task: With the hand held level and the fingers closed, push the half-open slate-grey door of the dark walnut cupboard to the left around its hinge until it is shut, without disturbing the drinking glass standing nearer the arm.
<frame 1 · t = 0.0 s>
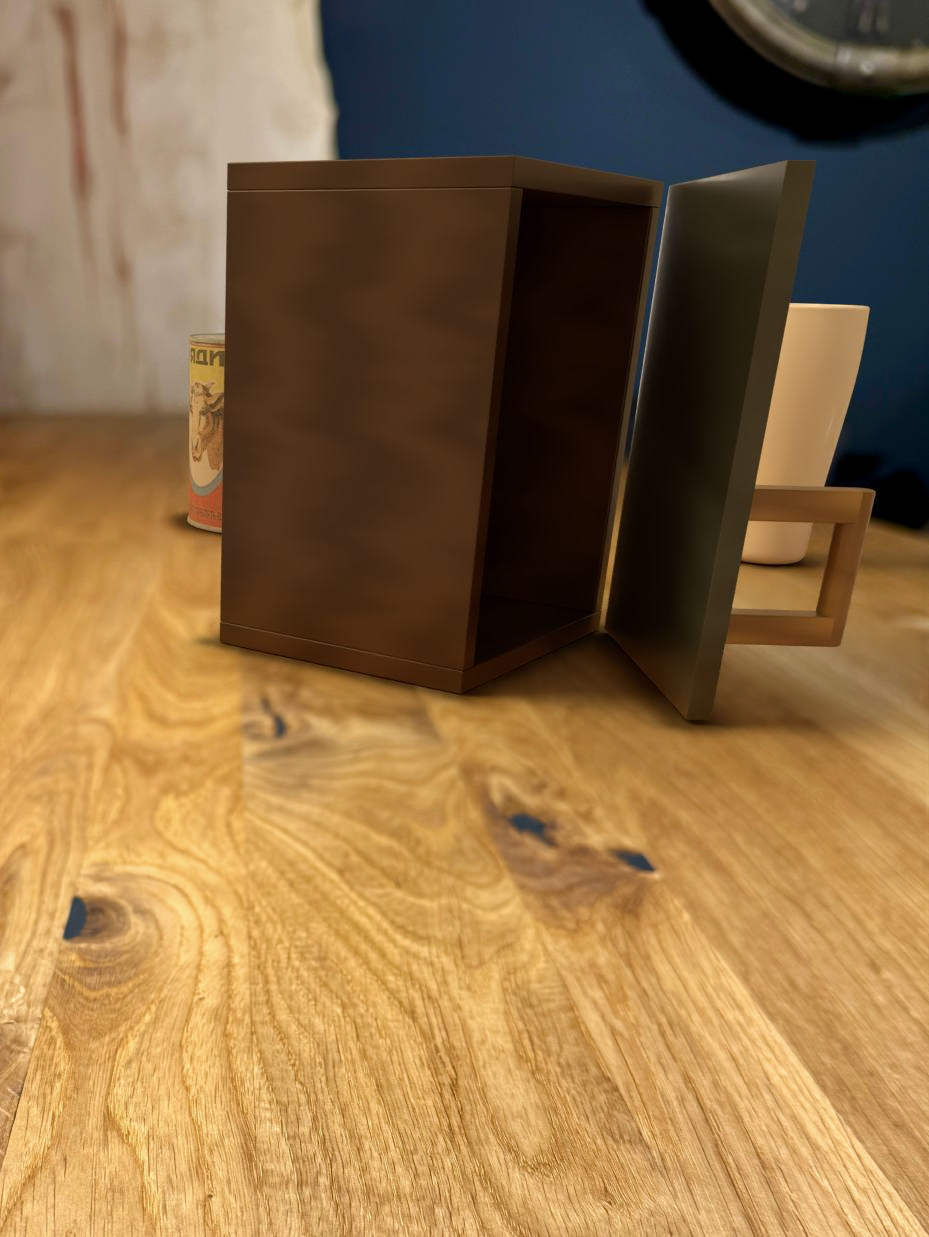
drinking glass: (760, 561, 85), on the table
canned food: (266, 525, 93), on the table
cupboard door: (749, 443, 55), point 10 cm above the table, hinge at 35.0°
cupboard: (415, 635, 65), on the table
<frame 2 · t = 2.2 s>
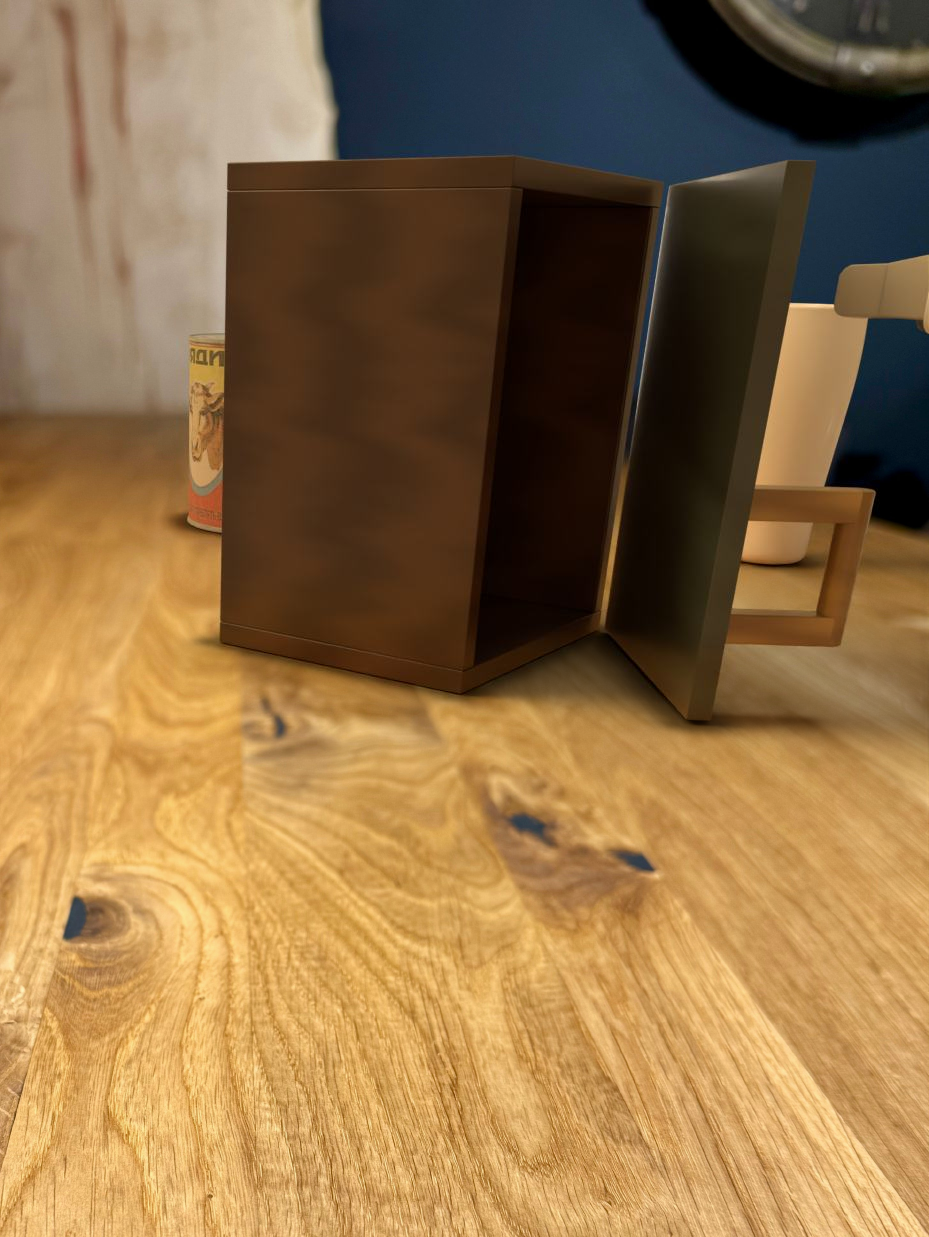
hand: (885, 301, 54), 16 cm above the table, tool horizontal, fingers open, 8 cm apart
nothing on the table moved.
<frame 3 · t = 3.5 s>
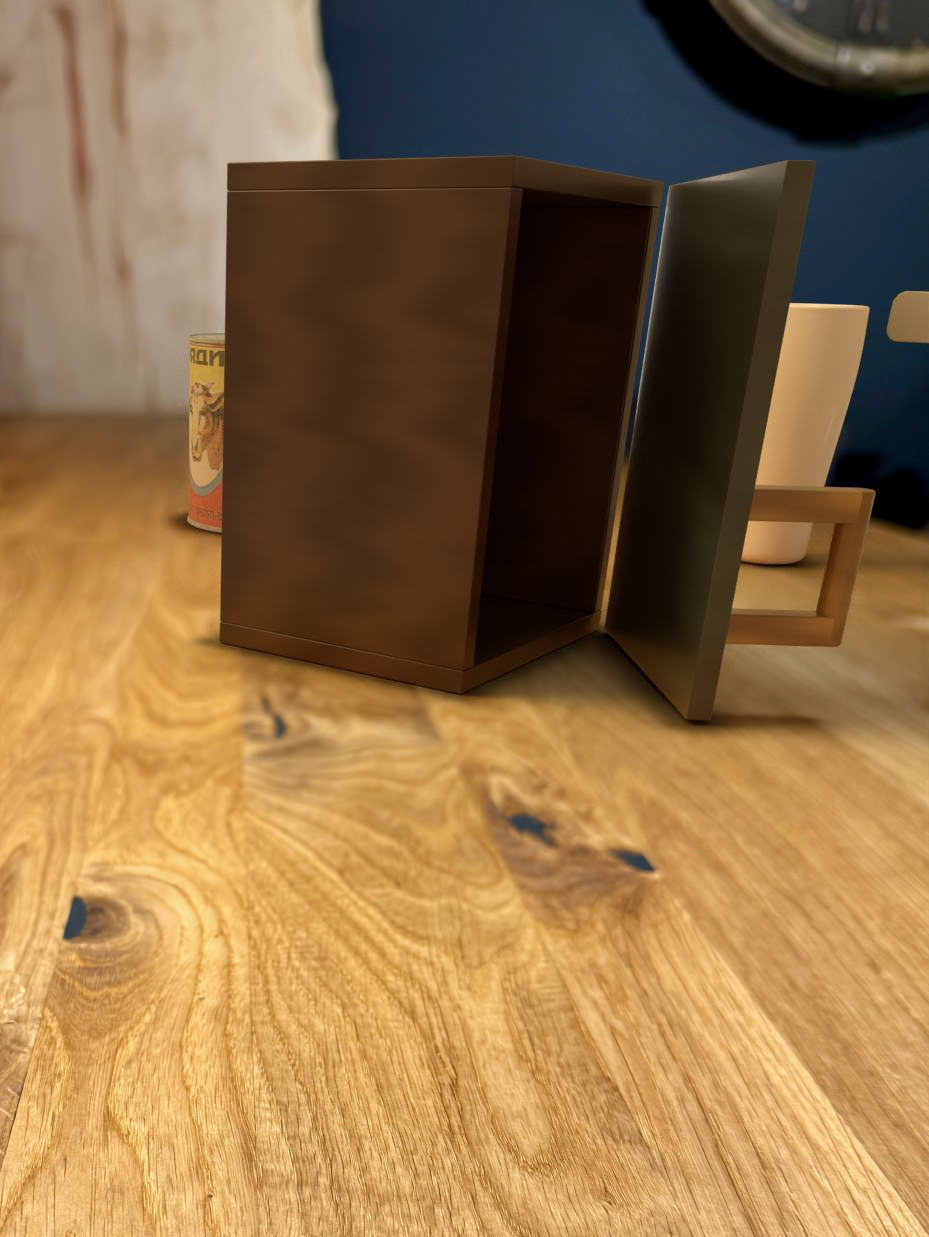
hand: (897, 315, 53), 15 cm above the table, tool horizontal, fingers closed
nothing on the table moved.
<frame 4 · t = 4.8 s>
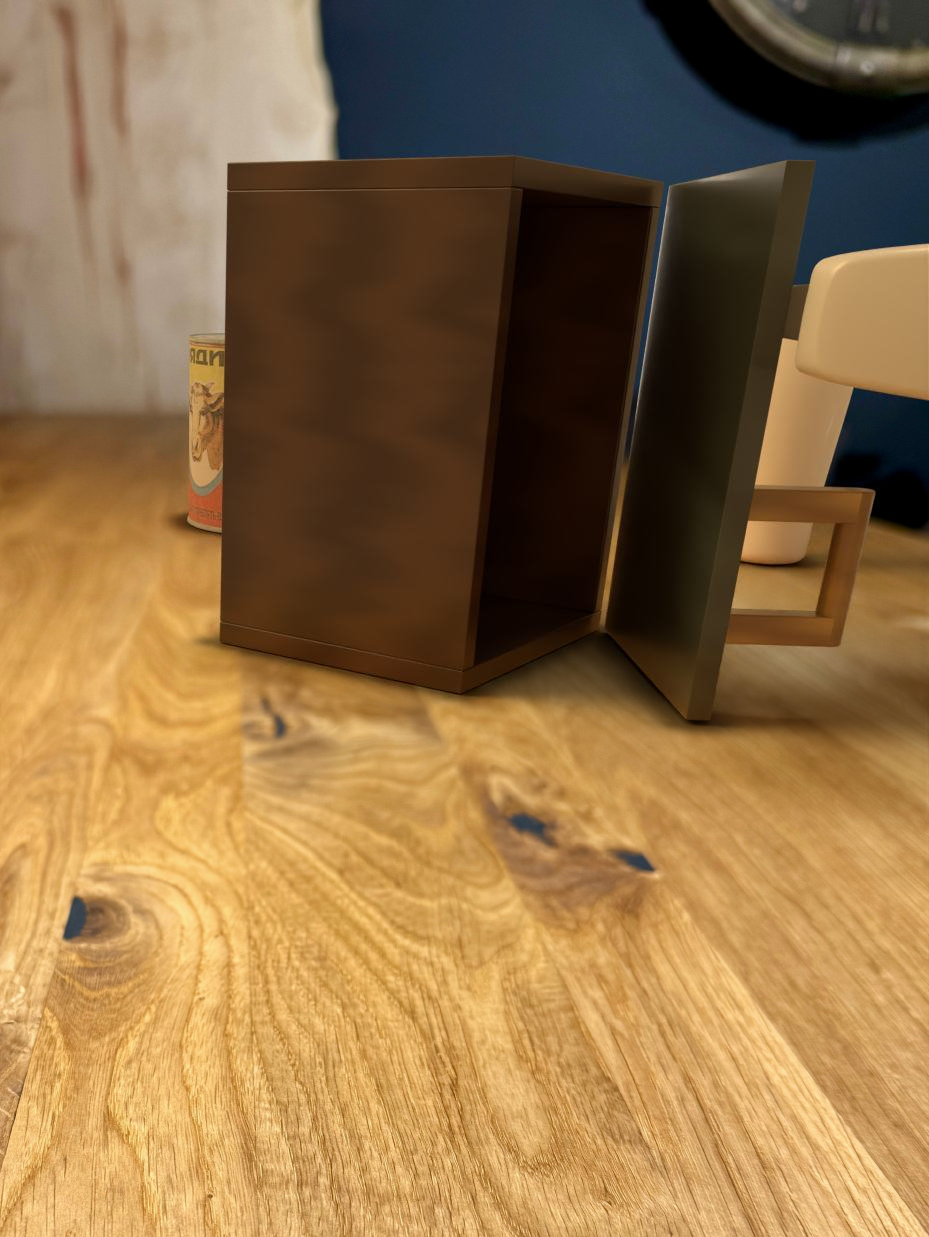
hand: (747, 309, 52), 15 cm above the table, tool horizontal, fingers closed
cupboard door: (749, 443, 55), point 10 cm above the table, hinge at 34.9°, touching gripper
everything else where it was.
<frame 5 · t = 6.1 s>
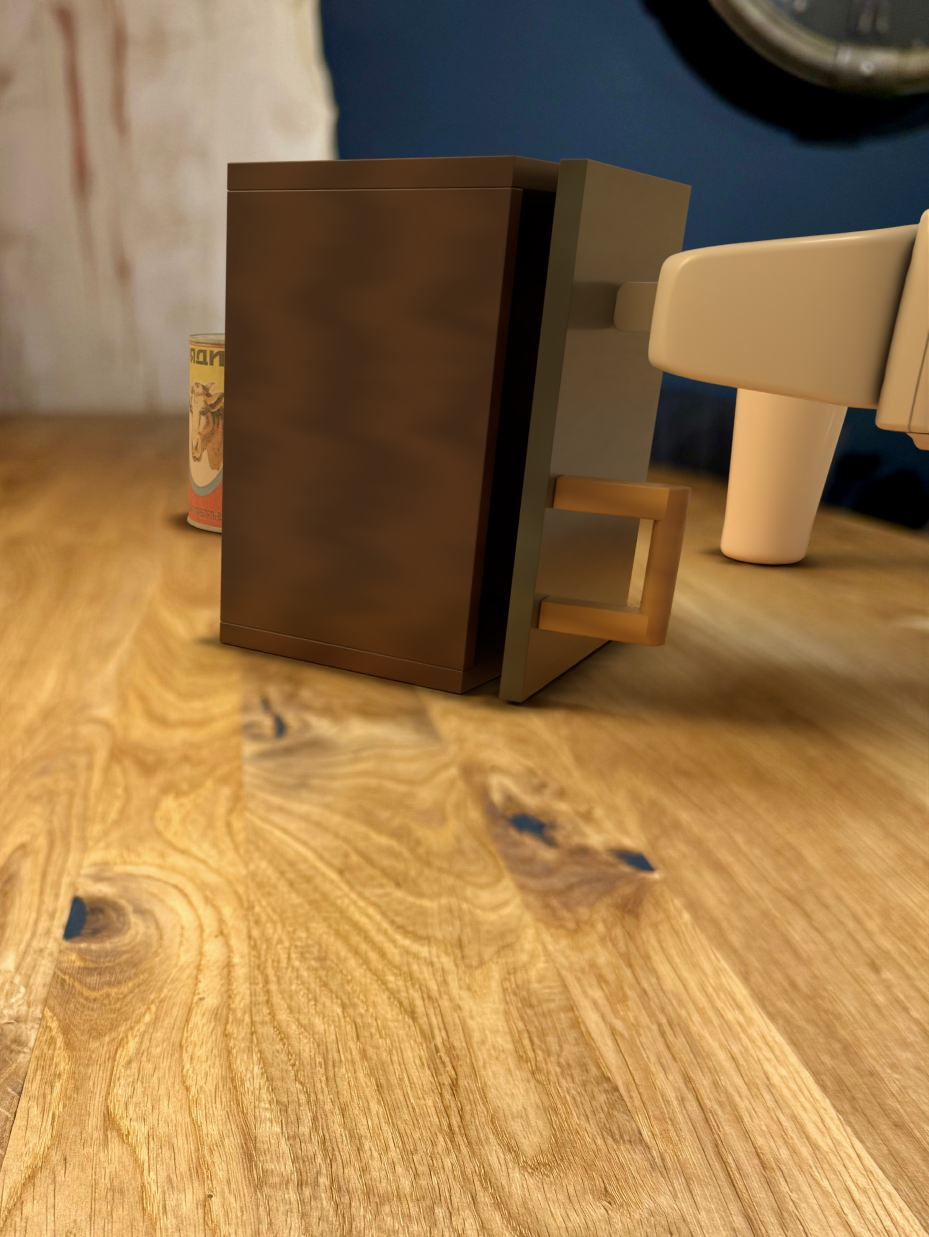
hand: (625, 305, 53), 15 cm above the table, tool horizontal, fingers closed, pressing on cupboard door
cupboard door: (656, 441, 55), point 10 cm above the table, hinge at 5.7°, touching gripper
everything else where it was.
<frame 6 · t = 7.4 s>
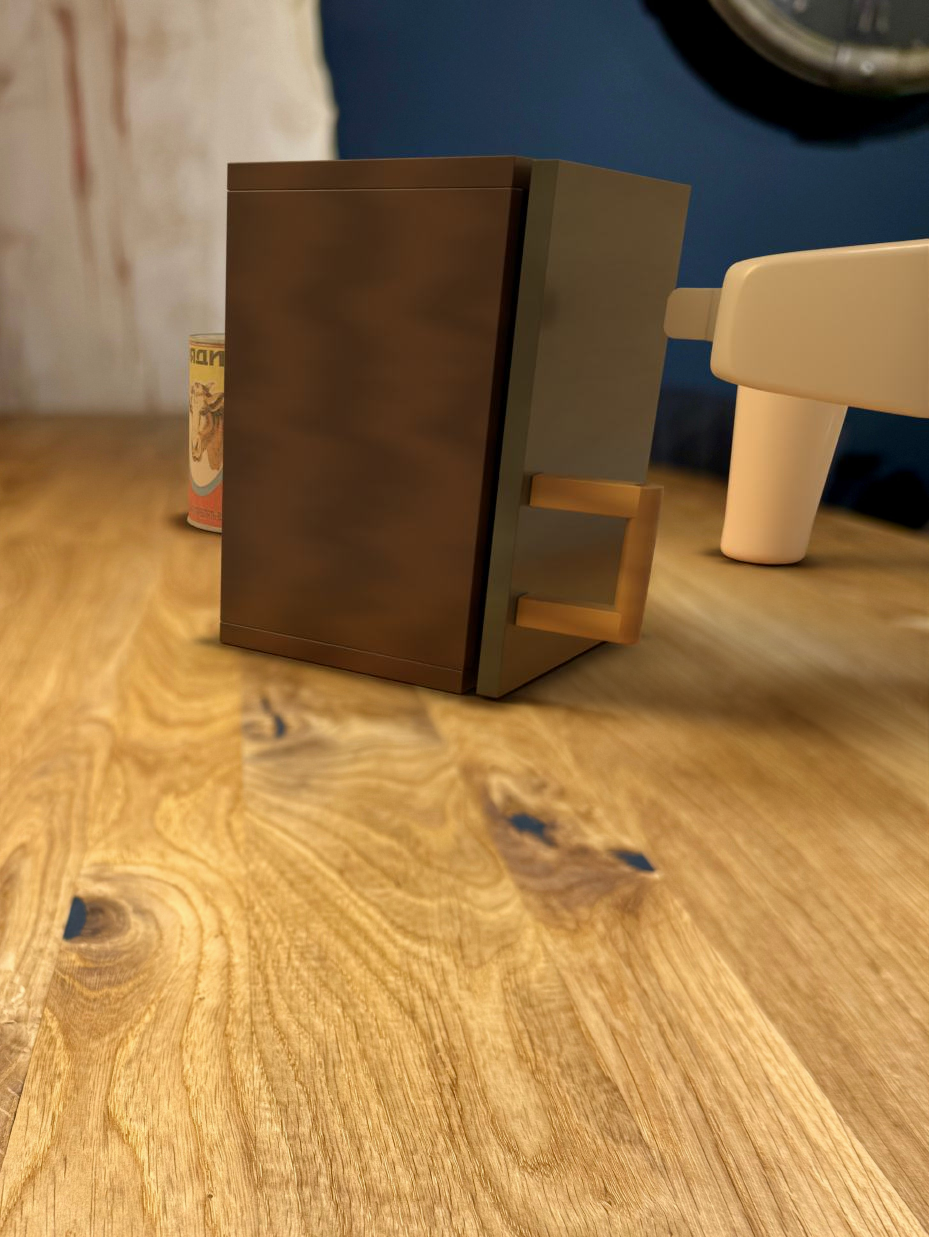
hand: (677, 312, 52), 15 cm above the table, tool horizontal, fingers closed
cupboard door: (643, 440, 55), point 10 cm above the table, hinge at 1.7°
everything else where it was.
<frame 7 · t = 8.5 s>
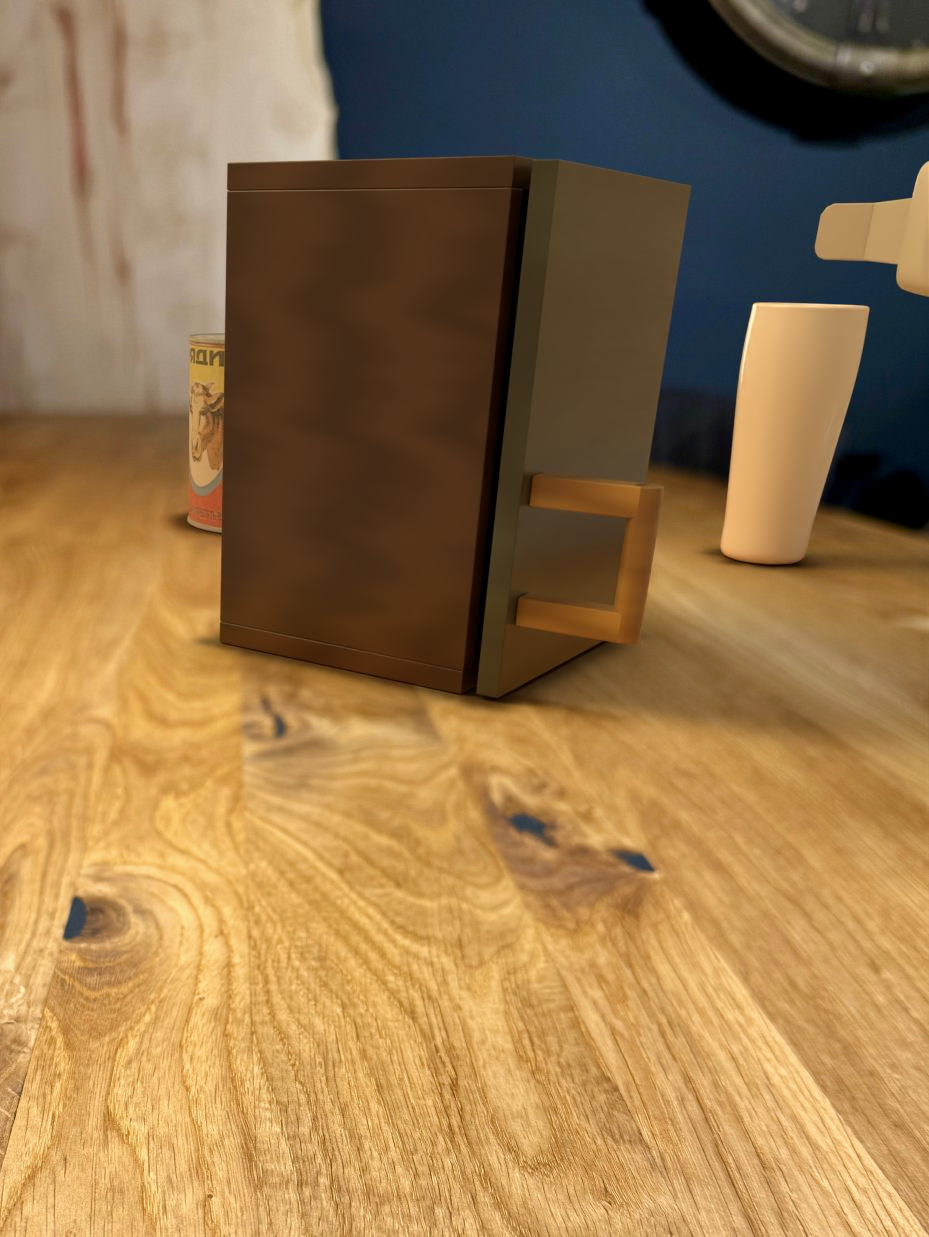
hand: (827, 232, 48), 18 cm above the table, tool horizontal, fingers closed
nothing on the table moved.
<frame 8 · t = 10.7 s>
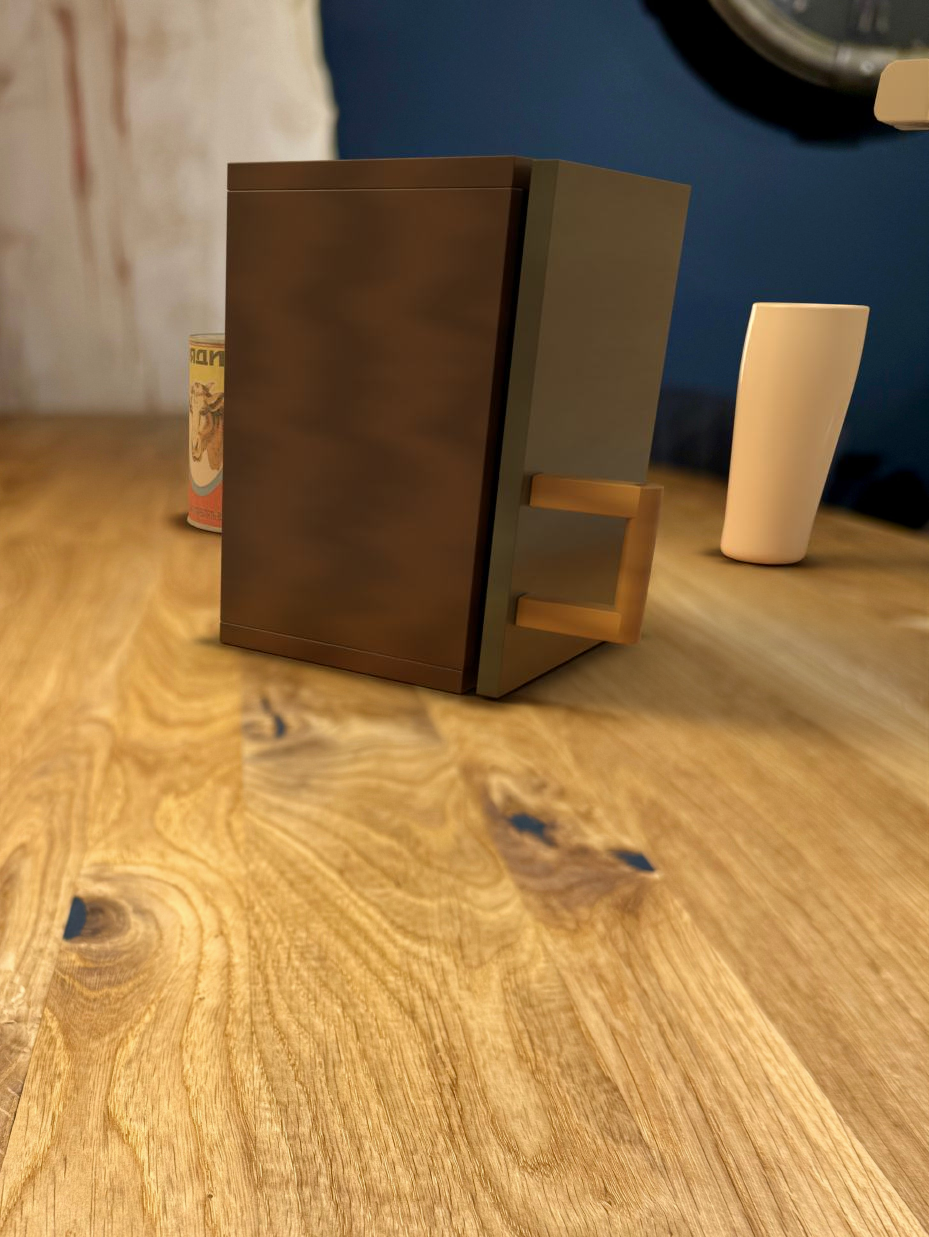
hand: (886, 96, 46), 22 cm above the table, tool horizontal, fingers closed
nothing on the table moved.
at the end: cupboard door at +2° (first picture: +35°); cupboard door touching nothing; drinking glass moved 0.2 cm from its start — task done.
